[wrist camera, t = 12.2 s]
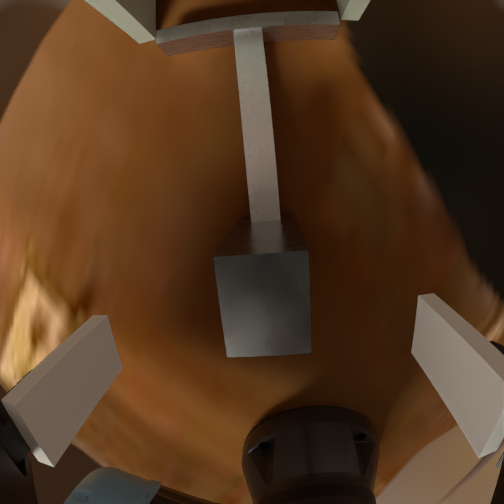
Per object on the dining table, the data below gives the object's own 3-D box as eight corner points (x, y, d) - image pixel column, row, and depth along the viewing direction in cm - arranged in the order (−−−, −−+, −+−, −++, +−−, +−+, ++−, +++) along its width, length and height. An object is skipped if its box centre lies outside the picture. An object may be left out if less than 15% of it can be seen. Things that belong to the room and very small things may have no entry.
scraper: (352, 272, 25) (400, 342, 14) (191, 283, 26) (142, 356, 15) (331, 27, 20) (363, -51, 9) (168, 44, 21) (107, -19, 10)
